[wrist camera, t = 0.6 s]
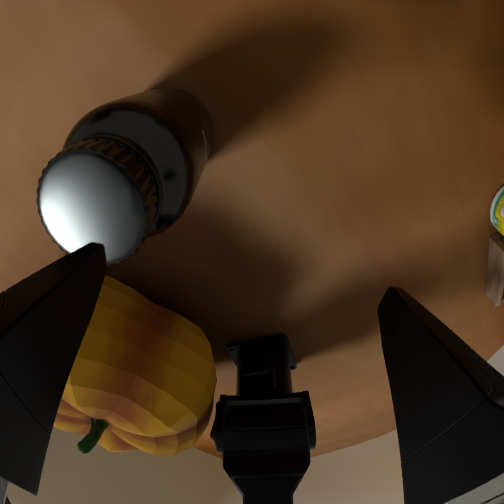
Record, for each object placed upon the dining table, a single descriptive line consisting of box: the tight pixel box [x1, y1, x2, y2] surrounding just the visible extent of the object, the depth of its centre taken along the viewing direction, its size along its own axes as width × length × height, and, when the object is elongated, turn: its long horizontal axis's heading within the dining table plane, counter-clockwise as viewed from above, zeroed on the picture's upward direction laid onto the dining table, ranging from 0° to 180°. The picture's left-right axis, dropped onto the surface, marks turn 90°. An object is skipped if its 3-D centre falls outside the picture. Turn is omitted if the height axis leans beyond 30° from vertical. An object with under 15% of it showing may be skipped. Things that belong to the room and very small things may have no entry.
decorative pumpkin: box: [53, 276, 217, 455], centre depth 25 cm, size 20×22×15 cm
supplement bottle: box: [36, 88, 213, 266], centre depth 15 cm, size 7×7×12 cm
